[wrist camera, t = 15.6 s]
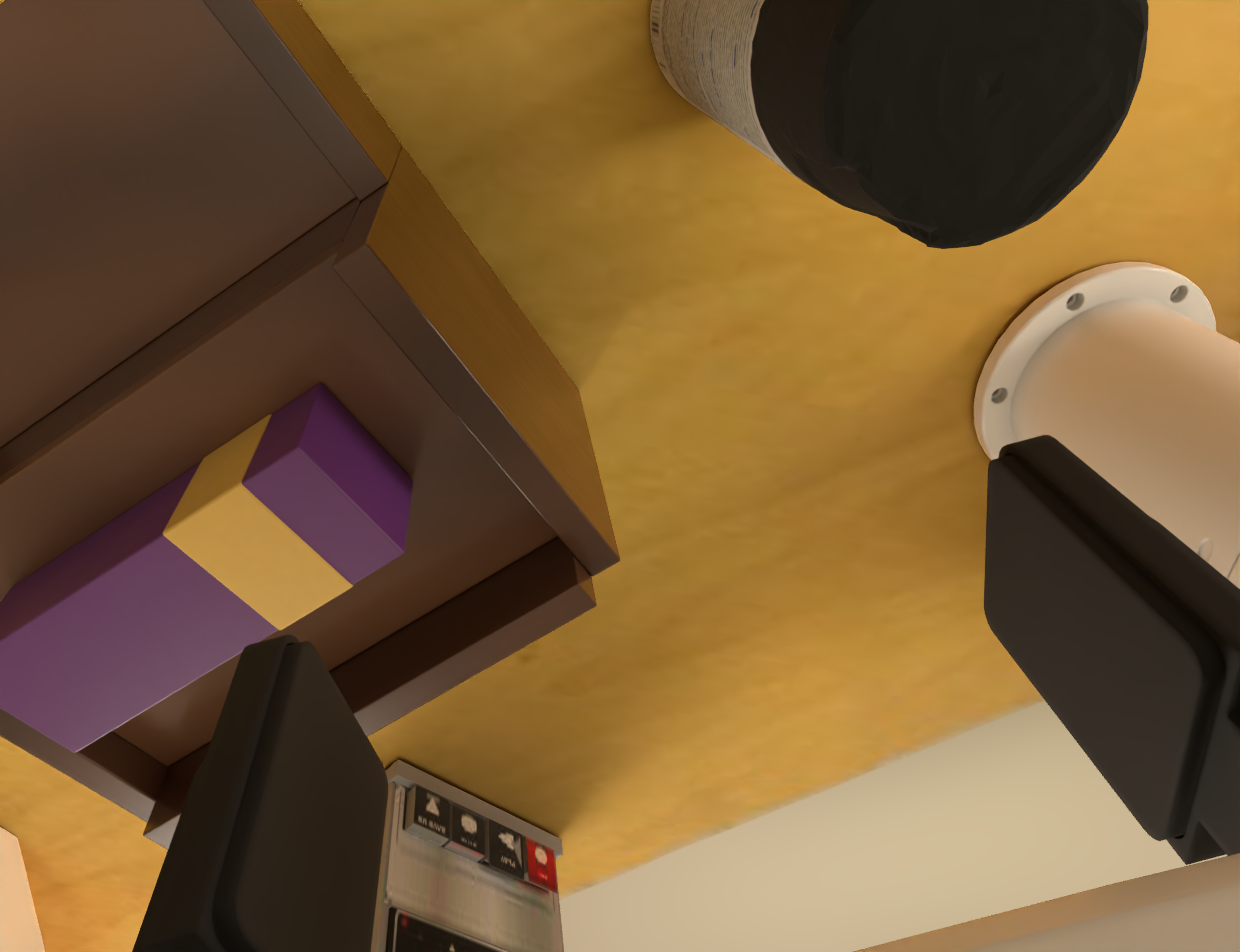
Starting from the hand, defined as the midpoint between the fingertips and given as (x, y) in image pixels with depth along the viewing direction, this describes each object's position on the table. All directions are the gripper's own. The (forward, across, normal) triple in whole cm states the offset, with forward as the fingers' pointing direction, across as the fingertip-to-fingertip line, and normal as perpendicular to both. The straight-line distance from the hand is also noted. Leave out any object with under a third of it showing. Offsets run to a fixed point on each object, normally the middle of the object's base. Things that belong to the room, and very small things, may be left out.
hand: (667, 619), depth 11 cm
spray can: (+28, -9, -4) cm, 29 cm away
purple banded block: (+16, +14, +6) cm, 21 cm away
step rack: (+28, +15, +2) cm, 31 cm away
